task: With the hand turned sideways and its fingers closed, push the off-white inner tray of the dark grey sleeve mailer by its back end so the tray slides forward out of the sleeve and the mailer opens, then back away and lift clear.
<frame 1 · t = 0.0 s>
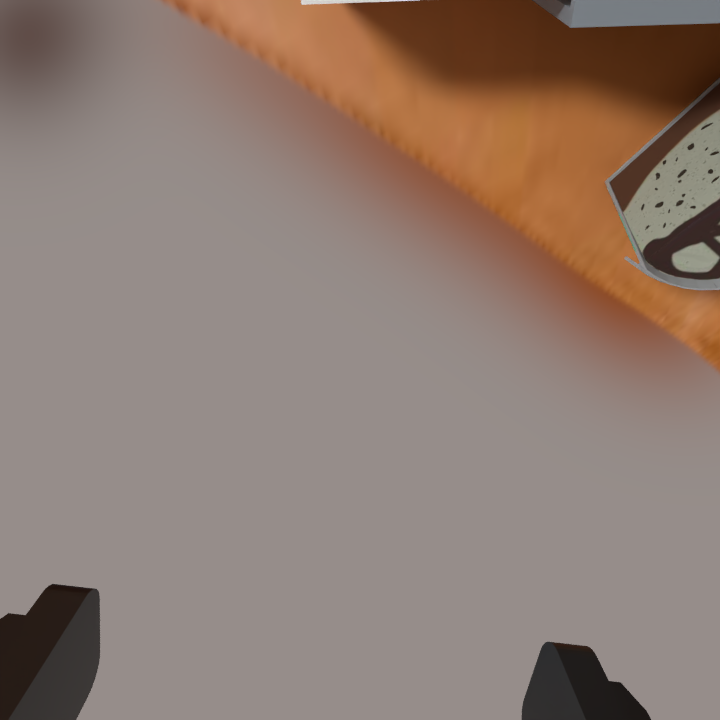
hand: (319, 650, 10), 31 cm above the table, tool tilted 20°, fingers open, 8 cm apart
food container: (696, 153, 35), on the table
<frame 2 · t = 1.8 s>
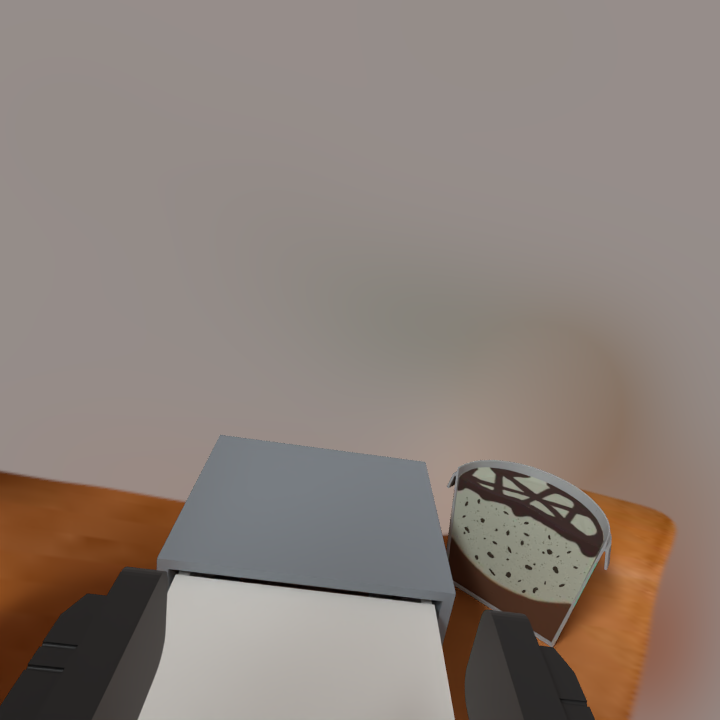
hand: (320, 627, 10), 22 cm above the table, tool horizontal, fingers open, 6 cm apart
tray: (300, 625, 32), point 5 cm above the table, slide at 0.0 cm
sleeve: (300, 615, 39), on the table
food container: (510, 593, 45), on the table
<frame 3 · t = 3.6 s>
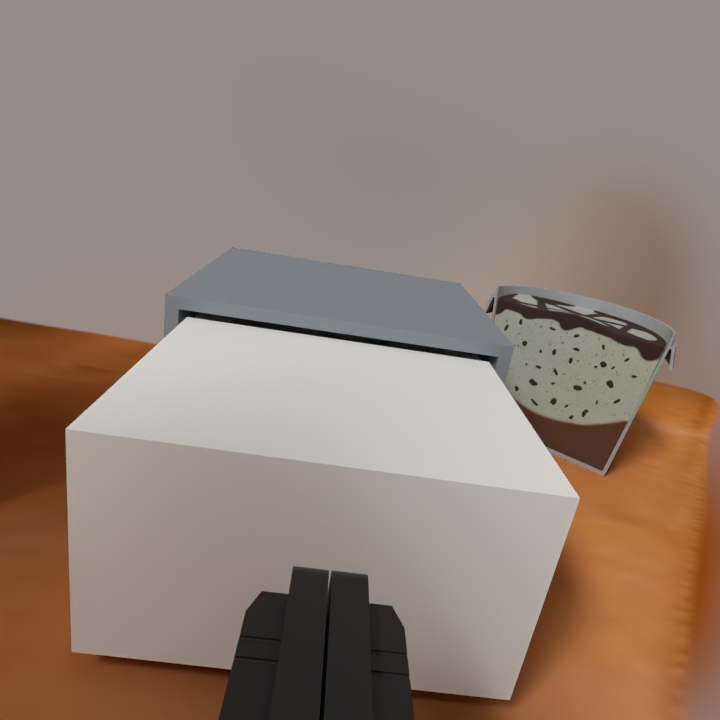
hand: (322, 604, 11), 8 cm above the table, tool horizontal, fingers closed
tray: (330, 403, 28), point 5 cm above the table, slide at 0.0 cm
sleeve: (323, 435, 35), on the table
food container: (550, 436, 40), on the table
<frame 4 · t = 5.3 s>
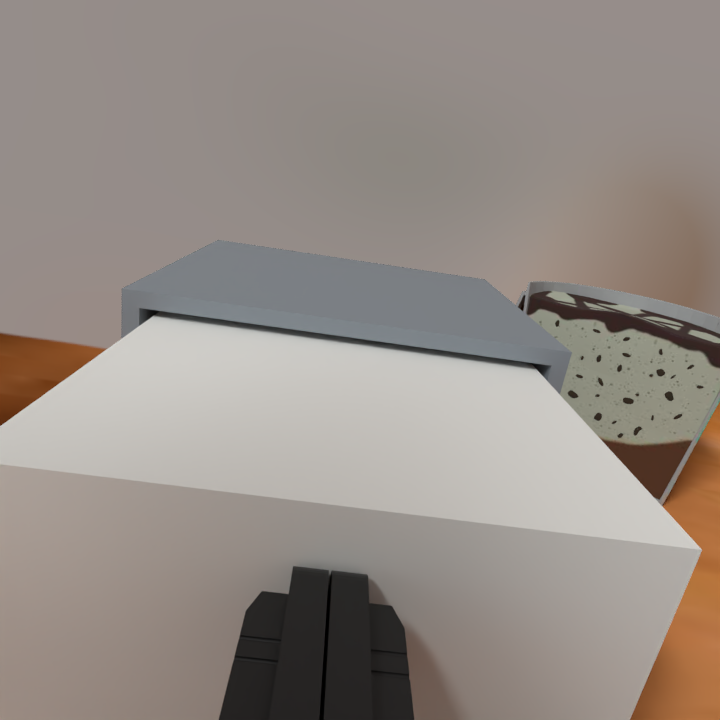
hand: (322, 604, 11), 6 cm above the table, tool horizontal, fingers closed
tray: (336, 414, 23), point 5 cm above the table, slide at 1.1 cm, touching gripper
sleeve: (326, 460, 29), on the table
food container: (591, 457, 35), on the table
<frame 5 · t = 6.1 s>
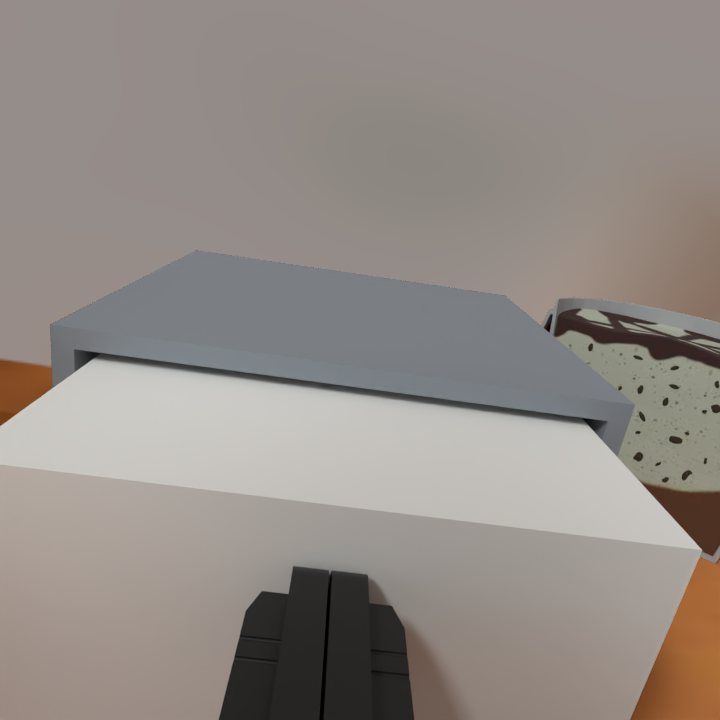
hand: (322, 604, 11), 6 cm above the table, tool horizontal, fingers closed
tray: (336, 414, 23), point 5 cm above the table, slide at 5.8 cm, touching gripper
sleeve: (322, 511, 25), on the table
food container: (625, 498, 30), on the table
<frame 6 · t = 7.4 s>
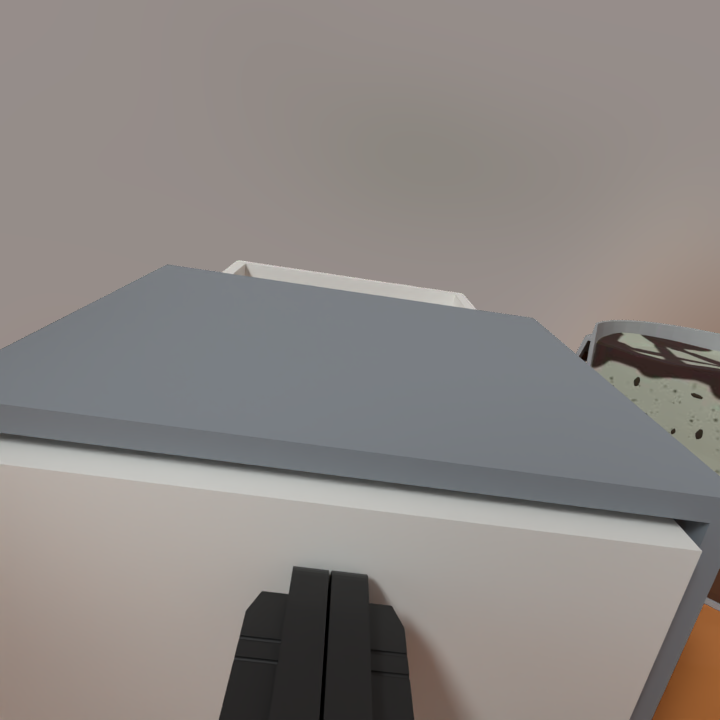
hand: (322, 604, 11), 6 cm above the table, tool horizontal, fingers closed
tray: (337, 413, 23), point 5 cm above the table, slide at 10.4 cm, touching gripper
sleeve: (315, 585, 20), on the table
food container: (672, 553, 26), on the table
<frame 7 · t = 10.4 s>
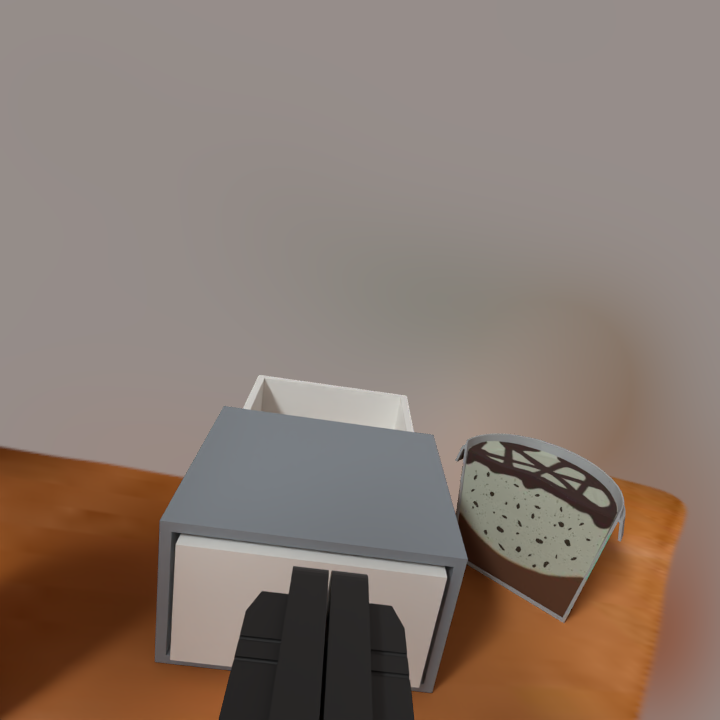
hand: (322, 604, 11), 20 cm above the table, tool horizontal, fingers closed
tray: (319, 490, 41), point 5 cm above the table, slide at 10.5 cm
sleeve: (306, 588, 38), on the table
food container: (519, 569, 44), on the table
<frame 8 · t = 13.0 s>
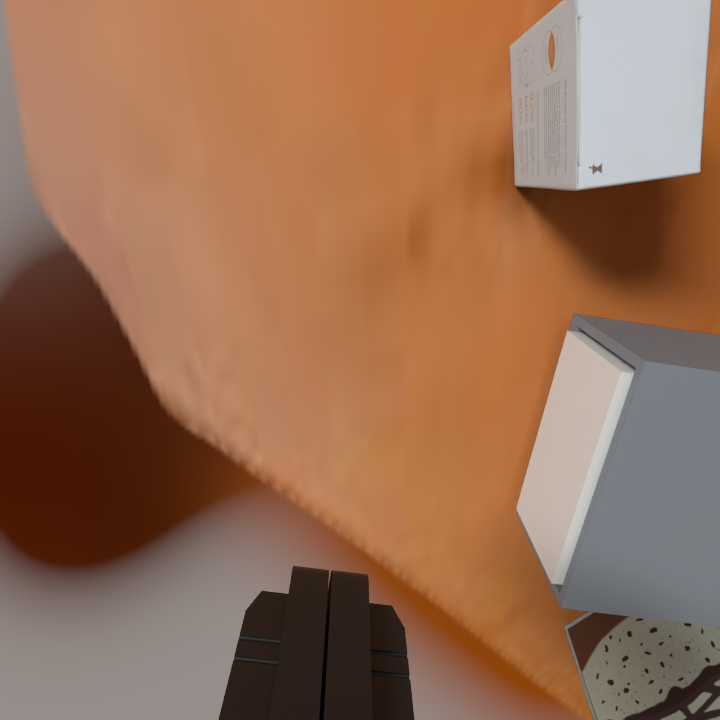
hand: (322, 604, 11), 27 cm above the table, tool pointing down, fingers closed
small box: (555, 112, 33), on the table
sleeve: (636, 433, 40), on the table
food container: (630, 617, 46), on the table
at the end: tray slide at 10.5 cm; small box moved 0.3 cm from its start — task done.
